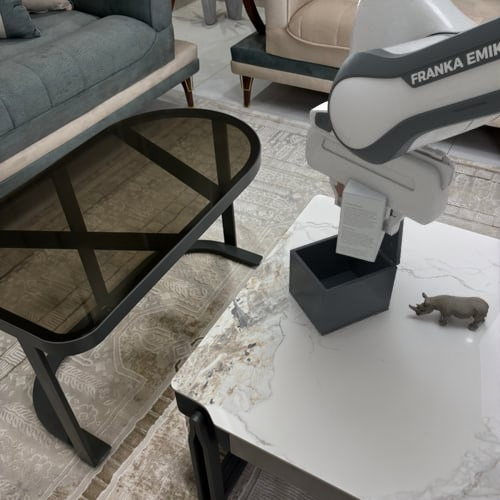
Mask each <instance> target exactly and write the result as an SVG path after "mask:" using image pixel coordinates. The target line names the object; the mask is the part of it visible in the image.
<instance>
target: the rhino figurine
mask: <svg viewBox="0 0 500 500" xmlns="http://www.w3.org/2000/svg"><path fill="white" fill-rule="evenodd" d="M421 297H422V298H423V299H424V301H423V302H422V303H419V304H418V303H416V306H415V305H411V304H410V303H409V304H408V307H409V308H410V309H411V310H412V311H414V312H415V315H416V316H417V317H420V316H425V315H430V314H432V313H433V312H434V311H437V312H439V313H440V314H441V317H442V318H441V319H440V320H439V321H438V322H439V323H438V325H439V326H441V327H446V326H447V325H448V323H449V322H448V321H449V319H450V318H451V317H454V318H456V319H459V320H468V319H471V318H472V322H470V323H468V325H467V329H468V330H471V331H473V332H474V331H476V330H477V329H479V325H480V324H481V323H485V322H486V318H487V317H488V313H489V309H490V305H489V303H488V302H487V301H486V300H485V299H483V298H481V297H480V296H458V295H457V296H456V295H450V294H438V295H434V296H428V295H427V294H426V293H425V291H422V292H421Z"/></svg>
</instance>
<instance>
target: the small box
mask: <svg viewBox="0 0 500 500" xmlns="http://www.w3.org/2000/svg"><path fill="white" fill-rule="evenodd" d="M386 201H387V197H385V196H384V195H382V194H380V193H378V192H376V191H374V190H372V189H371V188H369V187H367V186H365V185H363V184H361V183H359V182H357V181H355V180H352V179H349V181H348V182H347V184H346V185H345V188H344V190H343V193H342V202H341V207H340V211H339V222H338V230H337V234H338V239H337V247H336V253H340V254H344V255H348V256H352V257H356V258H359V259H363V260H367V261H371V262H374V261H375V258H376V256H377V253H378V250H379V247H380V245H381V242H382V239H383V237H384V234H385V232H384V231H382V228H383V222H384V220H386V219H388V218H389V215H390V210H391V209H390V208H388V207H386Z"/></svg>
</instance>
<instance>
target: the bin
mask: <svg viewBox="0 0 500 500" xmlns="http://www.w3.org/2000/svg"><path fill="white" fill-rule="evenodd" d="M337 239H338V233H337V234H334V235H331V236H328V237H325V238H322V239H319V240H316V241H313V242H310V243H307V244H303V245H299V246H298V247H294V248H291V249H290V250H289V267H288V268H289V269H288V270H289V271H288V292H289V294H290V295H291V297H292V298H293V299H294V301H295V302H296V303H297V305H298V306H299V308H300V309H301V310H302V312H303V313H304V314H305V315H306V317H307V318H308V319H309V321H310V322H311V324H312V325H313V326H314V328H315V330H317V333H319V335H320V336H321V337H322V336H326V335H328V334H330V333H333V332H335V331H338V330H340V329H343V328H346V327H348V326H351V325H353V324H355V323H358V322H360V321H364V320H365V319H368V318H370V317H374V316H376V315H378V314H381V313H383V312H386V311H388V310H389V309H390V305H391V299H392V294H393V290H394V286H395V281H396V277H397V272H398V265H397V266H396V265H395V264H394V263H393V262H392V261H391V260H390V259H389V258H388V257H387V256H386V255H385V254H384V253H383V252H382V251H381V250H378V253H377V256H376V258H375V261H374V262H371V261H367V260H363V259H359V258H356V257H352V256H348V255H344V254H340V253H336V247H337Z"/></svg>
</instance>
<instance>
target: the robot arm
mask: <svg viewBox="0 0 500 500" xmlns="http://www.w3.org/2000/svg"><path fill="white" fill-rule="evenodd" d="M351 29H352V30H351V34H350V41H349V49H348V56H347V58H345V59H344V61H343V63H342V64H341V66H340V67H339V69H338V71H337V73H336V75H335V77H334V79H333V82H332V84H331V86H330V90H329V93H328V98H327V101H324V102H323V103H320V104H319V105H317V106H315V107H314V108H311V110H309V116H308V117H309V122H310V125H309V127H308V129H307V133H306V139H305V149H304V150H305V152H304V156H305V157H304V158H305V161H306V163H307V165H308V167H309V168H311V169H313V170H314V171H316V172H318V173H321V174H322V175H325V176H327V177H328V178H329V184H330V187H331V190H332V192H333V195H334V205H335V206H336V207H339V208H341V202H342V193H343V190H344V188H345V186H346V184H347V182H348V181H349V179H352V180H355V181H357V182H359V183H361V184H363V185H365V186H367V187H369V188H371V189H372V190H374V191H376V192H378V193H380V194H382V195H384V196H385V197H387V201H386V207H388V208H390V209H392V210H393V213H392V215H393V216H396V217H393V216H390V217H389V218H388V219H386V220H384V222H383V228H382V231H384V232H386V233H388V234H389V235H393V234H395V233H396V232H397V231H398V229H399V225H400V221H402V220H403V219H404V220H405V219H406V218H408V219H410V220H412V221H414V222H416V223H417V224H419V225H421V226H426V225H429V224H432V223H433V222H435V221H437V220H438V219H439V218H440V217H442V216H443V214H444V213H445V212H446V210H447V206H448V201H449V195H450V185H451V184H452V181H453V178H454V174H455V171H456V165H455V164H454V163H453V161H452V160H451V158H449V156H447V152H446V151H444V150H442V149H441V148H438V147H433V146H431V145H432V144H435V143H439V142H440V141H443V140H446V139H449V138H452V137H455V136H458V135H461V134H463V133H466V132H469V131H471V130H473V129H477V128H479V127H482V126H484V125H486V124H488V123H490V122H493V121H495V120H496V119H498V118H499V117H500V15H498V16H496V17H493V18H492V19H489V20H487V21H484V22H482V23H479V24H478V23H476V22H475V21H474V20H472V19H471V18H469V17H468V16H467V15H466V14H465V13H463V12H462V11H461V10H460V9H459V8H458V7H457V6H456V4H454V2H452V0H358V3H357V6H356V10H355V13H354V19H353V23H352V28H351Z"/></svg>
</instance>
